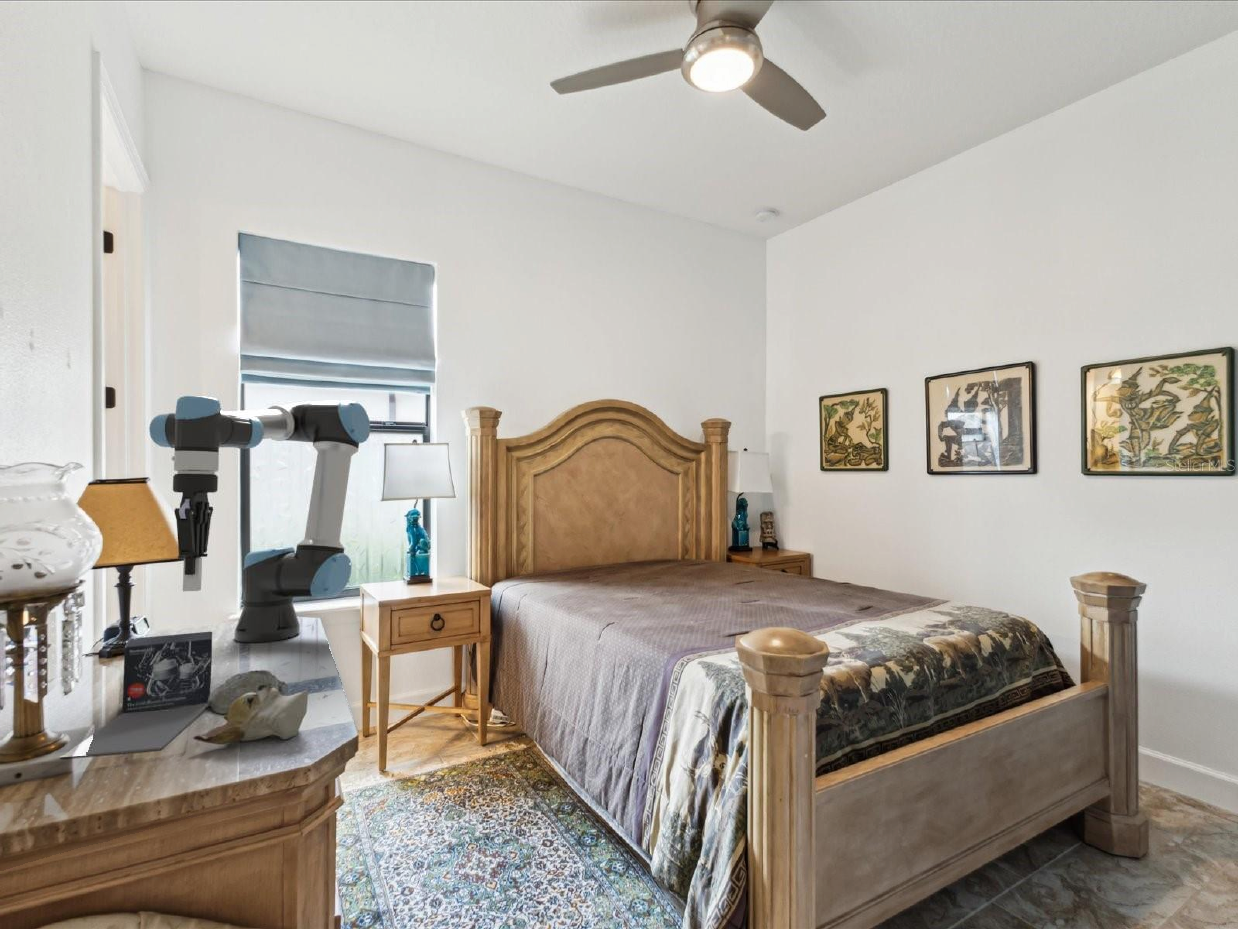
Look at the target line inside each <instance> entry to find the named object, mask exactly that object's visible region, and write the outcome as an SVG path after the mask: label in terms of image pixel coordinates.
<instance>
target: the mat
mask: <svg viewBox="0 0 1238 929" xmlns="http://www.w3.org/2000/svg"><path fill="white" fill-rule="evenodd" d="M207 709H208V706H203V707H191V708H190V707H188V708H176V709H174V708H173V709H159V710H150V711H143V712H133V713H122V712H121V714H119V715H118V716H116V717H115V718H114V719H113V720H111V721H109V722H108V723H107V724H105V725H104V726H102V727H101V728H100V729H98V730H97V731H94V733H92V734H93V740H92V742H91V744H90V747H89V750H88V752H86V755H87V756H86V757H94V756H107V755H116V754H117V755H118V754H127V753H139V752H150V751H151V752H153V751H161V750H163V749H164V748H165V747H166V746H168V744H170V743H171V742H172V741H173V740H174V739H176V737H177V736H179V735H180V734H181V733H182V732H183V731H184V730H185V729H186V728H188V726H190V725H191V724H192V723H193V722H194V721H195V720H196V719H197V718H198V717H200V716H201V715H202V714H203V713H204V712H205V711H206V710H207Z"/></svg>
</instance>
